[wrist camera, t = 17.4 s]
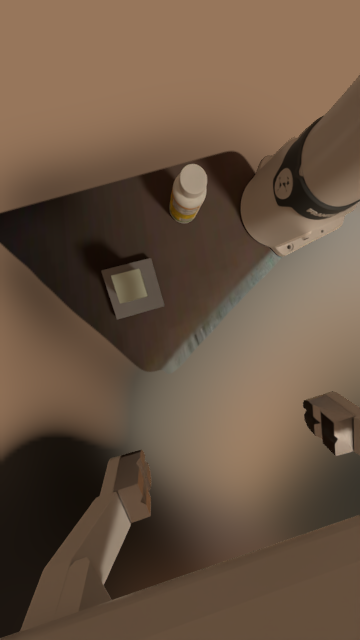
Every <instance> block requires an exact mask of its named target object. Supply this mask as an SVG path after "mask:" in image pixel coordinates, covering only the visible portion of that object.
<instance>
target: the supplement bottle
mask: <svg viewBox="0 0 360 640" xmlns="http://www.w3.org/2000/svg"><path fill="white" fill-rule="evenodd" d="M206 185H207V176H206V173H205V171H204V170H203V169H202V168H201V167H200V166H198V165H196V164H189V165H187V166H185V167H184V168H183V169H182V171H181V173H180V174H179V175H178V176H177V177H176V179H175V181H174V184H173V188H172V193H171V199H170V205H169V209H170V214H171V216H172V217H173V218H174V219H175V220H176V221H177V222H180V223H188V222H190V221H192V220H193V219H194V218H195V216H196V214H197V212H198V211H199V209H200V207H201V205H202V203H203V201H204V199H205V197H206Z"/></svg>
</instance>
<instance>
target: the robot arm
mask: <svg viewBox="0 0 360 640" xmlns="http://www.w3.org/2000/svg"><path fill="white" fill-rule="evenodd" d="M359 201H360V75H359V76H358V78H357V79H356V80H355V81H354V82H353V84H352V85H351V86H350V87H349V88H348V89H347V91H346V92H345V93H344V94H343V95H342V97H341V98H340V99H339V100H338V101H337V102H336V103H335V104H334V105H333V107H332V108H331V109H330V110H329V111H328V112H327V113H326V114H325V115H324V116H322V117H320V118H319V119H317V120H316V121H315V122H314V123H313V124H311V125H310V126H309V127H308V128H306V129H305V131H303V132H302V134H301V135H300V136H299V137H298V138H295V137H293V138H291V139H290V140H289V141H288V142H287V143H286V144H285V145H284V146H283V147H281V148H280V149H279V151H277V152H276V154H274V155H273V156H266V157H264V158H263V159H262V160H261V162H260V164H259V166H258V169H257V172H256V174H255V176H254V177H253V178H252V180H251V181H250V182H249V183H248V185H247V186H246V188H245V190H244V192H243V195H242V199H241V217H242V221H243V224H244V226H245V228H246V230H247V231H248V233H249V234H250V235H251V236H252V237H253V238H254V239H255V240H256V241H258V242H259V243H261V244H264V245H266V246H268V247H270V248H271V249H272V250H273V251H274V252H275V253H276V254H277V255H278V256H281V257H283V256H285V255H287V254H289V253H291V252H293V251H295V250H297V249H299V248H301V247H303V246H305V245H307V244H309V243H311V242H313V241H314V240H317V239H318V238H320V237H322V236H324V235H326V234H328V233H330V232H332V231H334V230H336V229H338V228H340V227H341V226H342V223H343V221H344V217H345V215H346V214H348V213H350V212H352V211H353V210H354V209H355V208H356V206H357V204H358V202H359ZM287 246H288V247H289V249H288V248H287ZM303 407H304V408H305V409H306V412H305V414H304V418H305V422H306V424H307V426H308V428H309V429H310V430H311V432H313V434H314V435H315V436H318V437H320V438H322V441H323V444H324V445H325V446H326V447H327V448H328V449H329V450H330V451H331V452H332V453H333V454H334V455H335V456H338V455H341V454H345V453H348V452H352V451H354V452H355V453H357V454H359V455H360V408H359V407H358V406H356V405H355V404H353V403H352V402H350V401H349V400H347V399H346V398H344V397H342V396H341V395H340V394H338V393H336V392H333V391H332V392H329V393H326V394H323V395H319V396H316V397H313V398H310V399H307V400H304V402H303ZM150 488H151V473H150V468H149V465H148V463H147V462H146V461H145V454H144V452H143V450H139V451H135V452H132V453H128V454H125V455H121V456H118V457H114V458H111V459H110V460H109V462H108V466H107V470H106V474H105V478H104V482H103V485H102V489H101V493H100V497H97V498H96V499H95V500H94V501H93V503H92V504H91V506H90V507H89V508H88V510H87V511H86V513H85V514H84V515H83V517H82V518H81V519H80V521H79V522H78V523H77V525H76V526H75V527H74V529H73V530H72V531H71V533H70V534H69V536H68V537H67V538H66V540H65V541H64V543H63V544H62V545H61V546H60V548H59V549H58V551H57V552H56V553H55V555H54V556H53V557H52V559H51V560H50V562H49V563H48V564H47V565H46V567H45V568H44V570H43V573H42V575H41V578H40V581H39V583H38V586H37V588H36V591H35V593H34V596H33V599H32V602H31V604H30V607H29V609H28V612H27V614H26V617H25V620H24V622H23V625H22V628H21V630H20V632H18V633H15V634H12V635H9V636H6V637H3V638H0V640H360V515H358V516H355V517H352V518H349V519H347V520H343V521H340V522H338V523H335V524H332V525H329V526H326V527H323V528H320V529H317V530H314V531H311V532H308V533H305V534H303V535H300V536H297V537H294V538H291V539H288V540H285V541H282V542H279V543H277V544H274V545H271V546H268V547H265V548H262V549H259V550H257V551H253V552H250V553H248V554H245V555H242V556H239V557H236V558H233V559H230V560H227V561H224V562H222V563H219V564H216V565H213V566H210V567H207V568H204V569H201V570H199V571H195V572H192V573H190V574H187V575H184V576H181V577H178V578H175V579H173V580H169V581H166V582H163V583H161V584H158V585H155V586H152V587H149V588H146V589H143V590H140V591H137V592H134V593H132V594H129V595H126V596H123V597H120V598H117V599H114V600H111V598H110V596H109V594H108V593H107V591H106V589H105V587H104V583H105V581H106V579H107V576H108V574H109V572H110V570H111V567H112V565H113V563H114V560H115V558H116V556H117V554H118V552H119V550H120V547H121V545H122V543H123V541H124V538H125V536H126V534H127V532H128V530H129V528H130V525H131V524H130V523H132V522H135V521H138V520H140V519H143V518H146V517H149V516H151V497H150V494H149V490H150Z"/></svg>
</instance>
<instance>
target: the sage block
mask: <svg viewBox="0 0 360 640" xmlns="http://www.w3.org/2000/svg"><path fill="white" fill-rule="evenodd" d="M111 277H112V281H113V284H114V287H115V290H116V293H117V296H118V299H119V302H120V304H121V303H126V302H130V301H134V300H137V299H141V298H144V297H148V293H147V290H146V287H145V283H144V280H143V277H142V274H141V272H140V269H135V270H131V271H128V272H124V273H120V274H116V275H112V276H111Z"/></svg>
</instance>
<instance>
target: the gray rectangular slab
mask: <svg viewBox="0 0 360 640" xmlns="http://www.w3.org/2000/svg"><path fill="white" fill-rule="evenodd" d="M135 269H140V272H141V274H142V277H143V280H144V283H145V287H146V290H147V293H148V297H144V298H141V299H137V300H134V301H130V302H126V303H121V304H120V302H119V299H118V296H117V293H116V290H115V287H114V284H113V281H112V277H111V276H112V275H116V274H120V273H124V272H128V271H131V270H135ZM101 272H102V275H103V278H104V281H105V284H106V287H107V290H108V293H109V296H110V300H111V303H112V306H113V309H114V312H115V315H116V318H117V319H121V318H124V317H128V316H131V315H135V314H138V313H142V312H145V311H149V310H152V309H156V308H159V307H163V306H164V302H163V299H162V295H161V292H160V288H159V285H158V281H157V278H156V274H155V271H154V267H153V264H152V260H151V258H148V259H144V260H140V261H137V262H133V263H129V264H125V265H121V266H117V267H113V268H109V269H105V270H102V271H101Z"/></svg>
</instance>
